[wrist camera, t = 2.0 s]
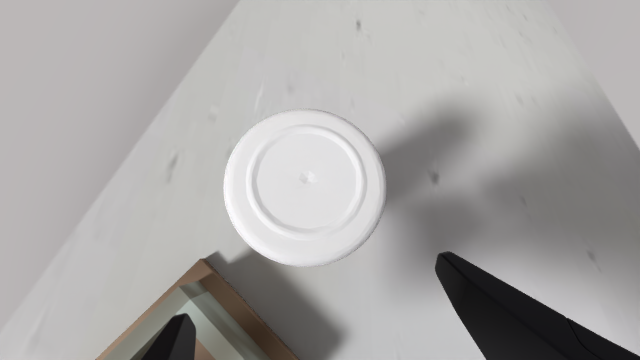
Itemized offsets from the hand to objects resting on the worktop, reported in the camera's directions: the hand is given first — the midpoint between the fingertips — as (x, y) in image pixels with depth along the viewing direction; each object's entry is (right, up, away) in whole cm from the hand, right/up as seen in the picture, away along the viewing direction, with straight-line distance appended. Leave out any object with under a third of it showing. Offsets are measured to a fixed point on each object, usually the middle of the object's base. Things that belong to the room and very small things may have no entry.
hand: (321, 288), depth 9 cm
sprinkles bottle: (-1, 0, +11) cm, 11 cm away
